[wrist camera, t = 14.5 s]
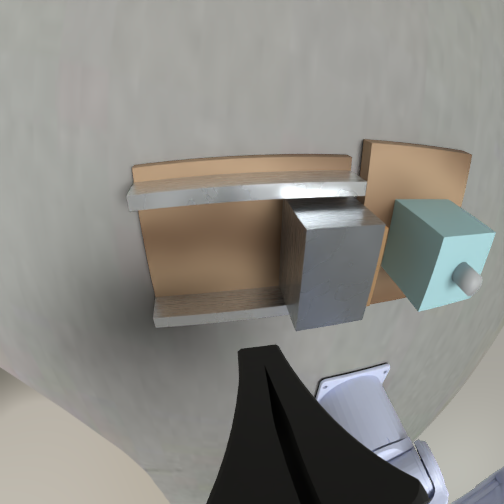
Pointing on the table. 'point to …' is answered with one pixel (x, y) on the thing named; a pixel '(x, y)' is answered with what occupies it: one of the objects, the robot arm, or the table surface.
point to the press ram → (329, 259)
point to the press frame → (264, 220)
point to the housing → (435, 251)
